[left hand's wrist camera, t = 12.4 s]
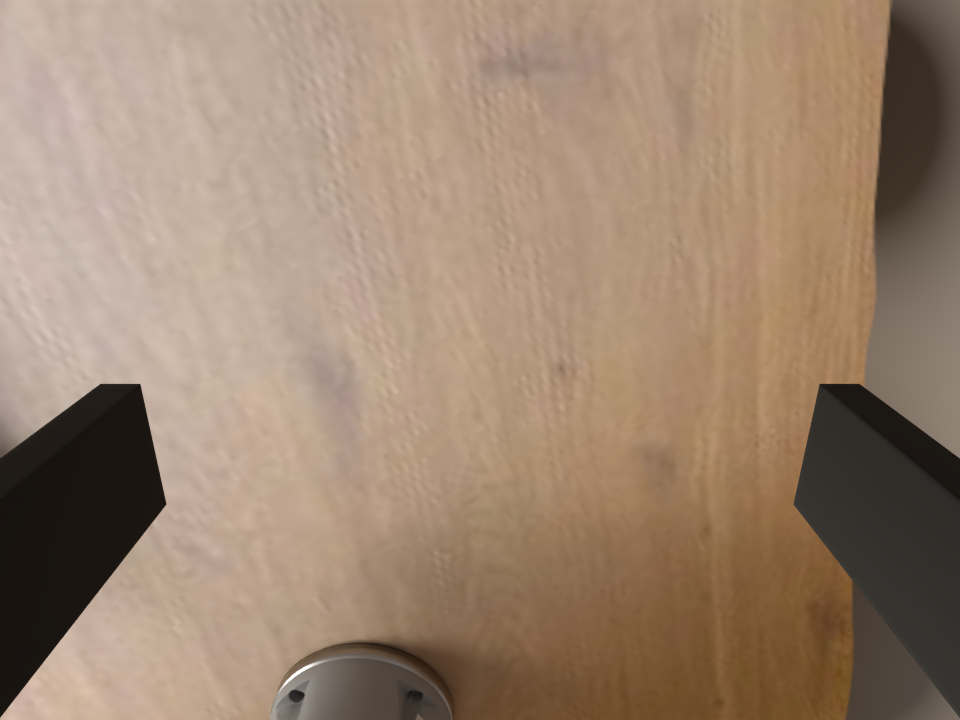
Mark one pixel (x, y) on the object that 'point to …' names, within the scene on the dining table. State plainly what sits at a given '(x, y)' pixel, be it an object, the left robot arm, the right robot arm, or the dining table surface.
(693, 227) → the dining table surface
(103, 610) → the dining table surface
